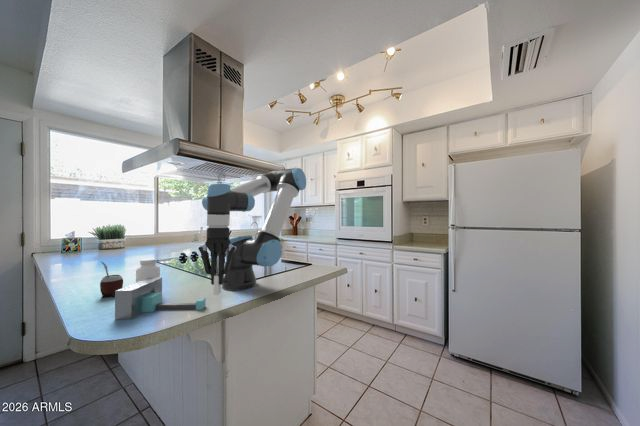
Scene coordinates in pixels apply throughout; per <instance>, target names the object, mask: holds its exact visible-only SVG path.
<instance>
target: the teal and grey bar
mask: <svg viewBox="0 0 640 426" xmlns="http://www.w3.org/2000/svg"><path fill="white" fill-rule="evenodd" d="M206 299H207V298H205V297H200V298H199V299H197V300H196V301H195V302H177V303H172V302H171V303H169V302H168V303H162V301H161V293H146V294H143V295H141V313H153V312H155V311H165V310H166V311H172V310H175V311H176V310H196V311H202V310H204V309H205V308H206V305H207V304H206V301H207V300H206Z"/></svg>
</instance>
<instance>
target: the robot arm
mask: <svg viewBox="0 0 640 426" xmlns="http://www.w3.org/2000/svg"><path fill="white" fill-rule="evenodd" d="M306 187H307V178H306V175H305V172H304V170H303V169H301V168H299V167H292V168H284V169H274V170H271V171H268V172H267V173H264V174H261V175H259V176H257V177H256V179H252V180H249V181H247V182H244V183H241V184H239V185H236V186H233V187H231V186H230V184H228V183H222V182H221V183H220V182H212V183H209V184H208V186H207V191H206V192H207V193H206V194H205V195H204V196H203V197H202V199H201V205H202V207H203V209H204V210H205V211H206V226H207V228H206V241H205V242H204V244H203V245H202V246H201V245H200V246H199V247H198V251H199V252H200V254H201V259H202V264H203V269H204V272H205V274H207V275H210V284H211V286H213V295H214V296H219V295H220V294H221V291H222V289H224V290H228V291H241V290H247V289H251V288H254V287H256V285H257V278H256V274H255V272H254V269H253V266H258V267H259V266H260V267H262V268H263V267H273V266H274V265H276V264H278V262H279V261H280V260H281V258H282V256H283V245H282V244H283V243H281V242H282V240H281V238H280V235H281V233H282V230H283V227H284V225H285V221H286V218H287V216H288V213H289V211H290V208H291V206H292V203H293V200H294V198H296V197H298V196H299V193H300V191H305V189H306ZM270 192H277V193H276V195H275V197H274V199H273V202H272V204H271V207H270V210H269V212H268V213H267V217H266V219H265V221H264V223H263V226H262V228H261V230H258V231H257V232H256V234H255V236H254V237H253V235H251V234H248V235H242V236H241V235H239V236H233V237H231V236H230V235H231V234H230V232H231V231H230V230H231V229H230V227H229V226H230V224H231V223H230V221H231V220H230V219H231V216H230V215H231V212H242V213H243V212H244V213H245V212H250V211H252V210H253V209H254V207H255V205H256V204H255V203H256V200H255V198H254V197H255V196H258V195H260V194H267V193H270ZM208 251H209V252H210V255H209V252H208ZM209 256H210V257H209ZM225 260H226V262H225ZM221 288H222V289H221Z"/></svg>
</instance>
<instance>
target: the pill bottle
mask: <svg viewBox="0 0 640 426" xmlns="http://www.w3.org/2000/svg"><path fill="white" fill-rule="evenodd" d="M139 264H140V266H138V267H137V268H136V270H135V283H136V282H139V281H141V280H144V279H147V278H161V268H160V266H159V265H158V264H157V259H156V258H152V257H150V258H149V257H148V258H142V259H140V261H139Z"/></svg>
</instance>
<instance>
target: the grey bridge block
mask: <svg viewBox="0 0 640 426" xmlns="http://www.w3.org/2000/svg"><path fill="white" fill-rule="evenodd" d="M146 293H161V302H162V301H163V277H160V278H147V279H144V280H141V281H139V282H136V281H135V283H131V284H129V285H126V286H123V287H122V288H121V289H119V290H116V291H115V295H114V296H115V297H114V320H133V319H134V318H135V317H137V316H139V315H141V314H142V312H141V295H143V294H146Z"/></svg>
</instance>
